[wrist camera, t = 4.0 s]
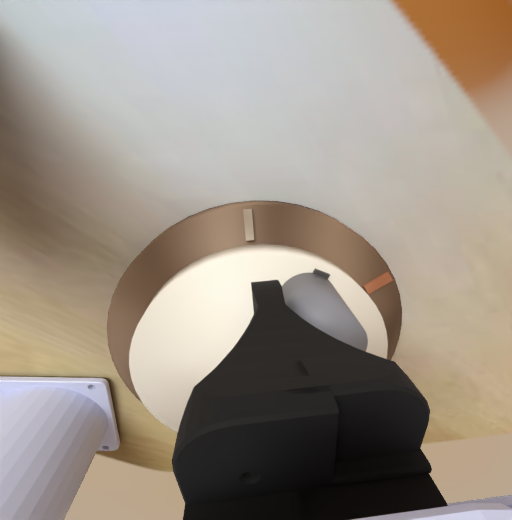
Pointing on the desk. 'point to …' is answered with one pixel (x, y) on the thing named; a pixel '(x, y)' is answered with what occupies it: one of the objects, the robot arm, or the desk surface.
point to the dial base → (238, 234)
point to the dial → (238, 317)
